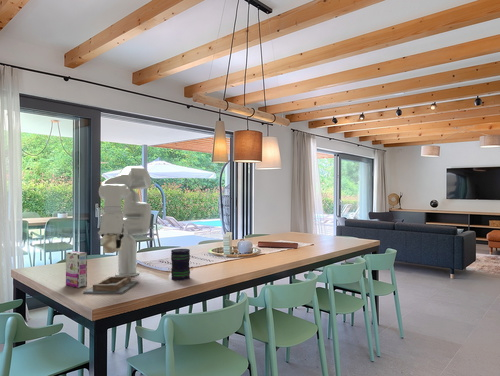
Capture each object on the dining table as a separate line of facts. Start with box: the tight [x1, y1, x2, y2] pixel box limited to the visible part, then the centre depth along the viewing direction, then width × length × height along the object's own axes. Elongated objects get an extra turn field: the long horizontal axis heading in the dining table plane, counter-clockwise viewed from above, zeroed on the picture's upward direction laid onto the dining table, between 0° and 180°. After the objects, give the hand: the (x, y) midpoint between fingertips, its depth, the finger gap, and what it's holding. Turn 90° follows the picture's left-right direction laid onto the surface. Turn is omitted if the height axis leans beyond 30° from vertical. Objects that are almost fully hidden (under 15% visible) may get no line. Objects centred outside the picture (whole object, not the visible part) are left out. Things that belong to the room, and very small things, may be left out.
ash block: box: [102, 233, 122, 254], centre depth 172 cm, size 4×11×8 cm, turn 177°
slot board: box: [83, 275, 140, 295], centre depth 172 cm, size 20×18×4 cm
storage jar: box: [170, 248, 191, 282], centre depth 190 cm, size 10×10×15 cm
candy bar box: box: [65, 250, 88, 289], centre depth 177 cm, size 11×5×16 cm, turn 56°
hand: (112, 247), depth 172 cm, fingers closed on ash block, 4 cm apart
